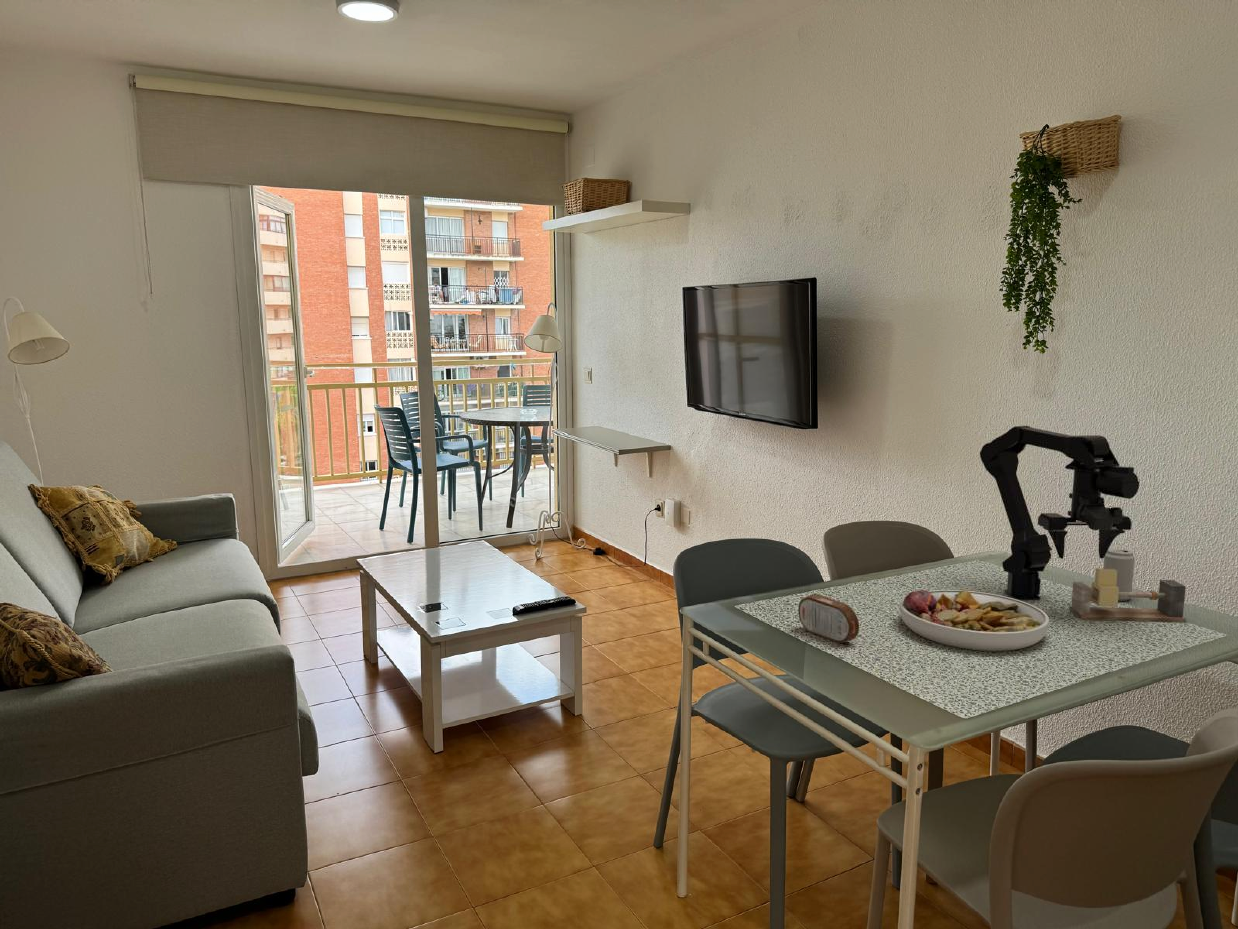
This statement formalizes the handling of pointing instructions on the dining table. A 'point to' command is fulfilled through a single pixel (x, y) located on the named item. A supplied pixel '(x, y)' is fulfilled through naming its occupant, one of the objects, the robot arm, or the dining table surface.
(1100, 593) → the marker sleeve
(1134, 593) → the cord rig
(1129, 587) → the beverage can
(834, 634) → the tin
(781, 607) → the dining table surface
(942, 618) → the bowl
